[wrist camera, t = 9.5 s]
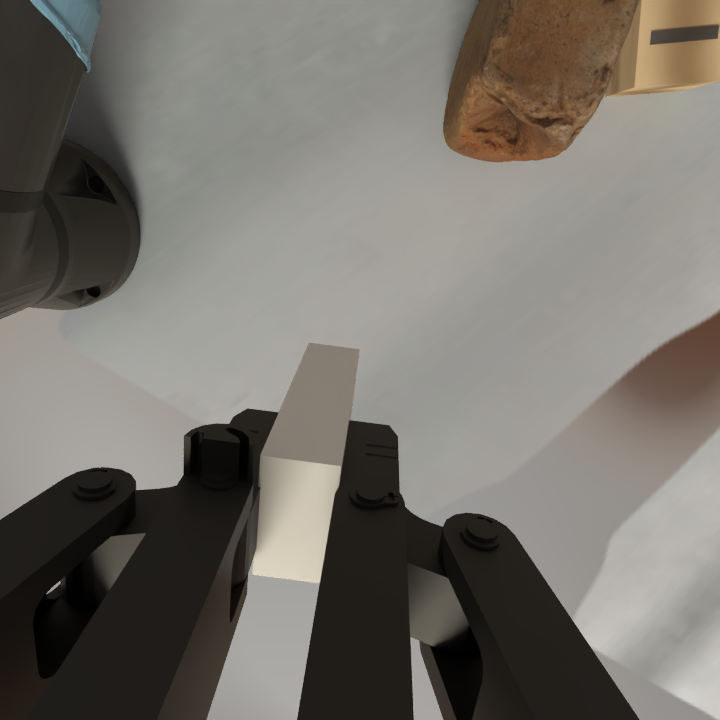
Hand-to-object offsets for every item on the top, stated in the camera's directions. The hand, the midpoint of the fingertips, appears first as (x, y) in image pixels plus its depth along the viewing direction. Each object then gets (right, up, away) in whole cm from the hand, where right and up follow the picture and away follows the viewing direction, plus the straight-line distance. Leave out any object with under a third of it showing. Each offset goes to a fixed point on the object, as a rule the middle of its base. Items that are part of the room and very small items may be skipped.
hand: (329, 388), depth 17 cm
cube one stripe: (+24, +25, +27) cm, 44 cm away
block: (+12, +23, +29) cm, 39 cm away
